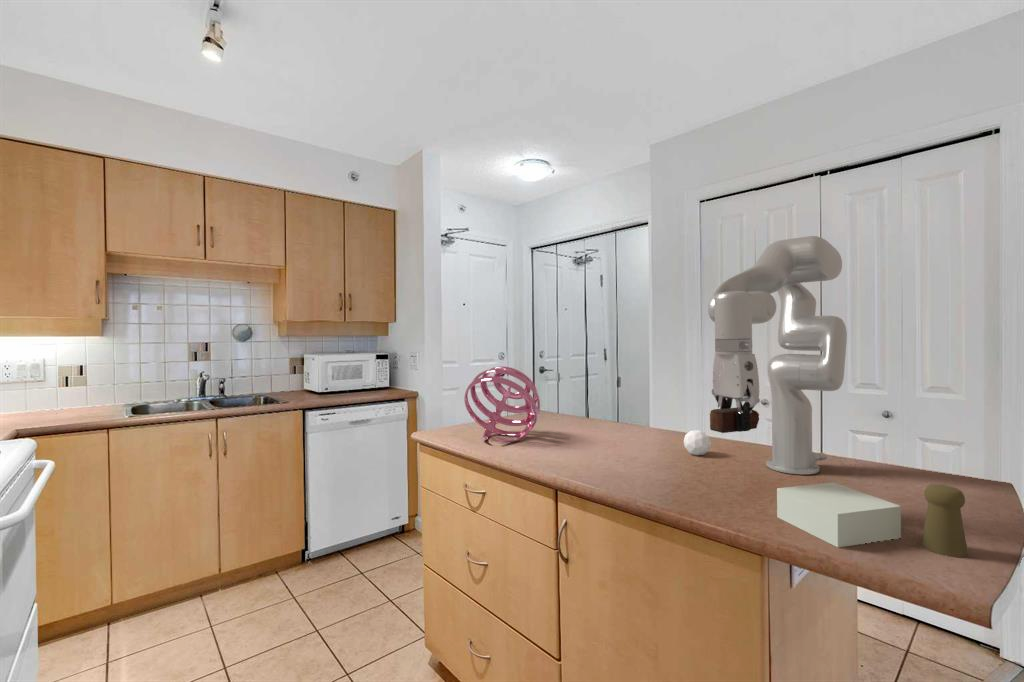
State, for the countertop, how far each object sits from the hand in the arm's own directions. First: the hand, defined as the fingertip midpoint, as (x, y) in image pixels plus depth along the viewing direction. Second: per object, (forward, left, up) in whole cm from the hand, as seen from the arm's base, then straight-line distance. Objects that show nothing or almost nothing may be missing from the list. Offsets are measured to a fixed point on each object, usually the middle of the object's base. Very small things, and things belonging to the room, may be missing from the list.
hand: (734, 427), depth 104 cm
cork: (-20, +28, -17) cm, 38 cm away
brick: (0, 0, -1) cm, 1 cm away
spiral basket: (+37, -77, -17) cm, 87 cm away
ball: (-16, -38, -17) cm, 45 cm away
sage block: (-10, +16, -17) cm, 25 cm away
